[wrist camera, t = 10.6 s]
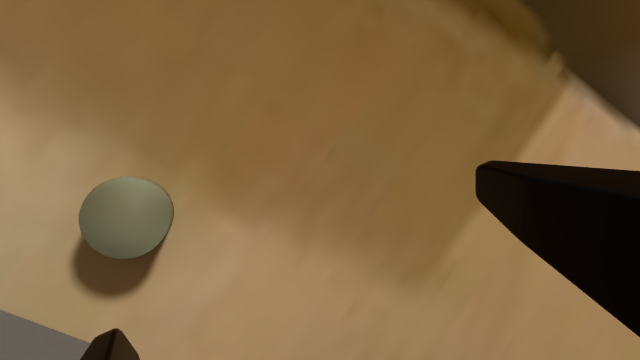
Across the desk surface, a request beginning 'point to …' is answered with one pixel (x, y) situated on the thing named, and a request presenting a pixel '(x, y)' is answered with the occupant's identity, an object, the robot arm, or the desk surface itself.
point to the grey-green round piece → (126, 217)
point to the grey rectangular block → (36, 341)
